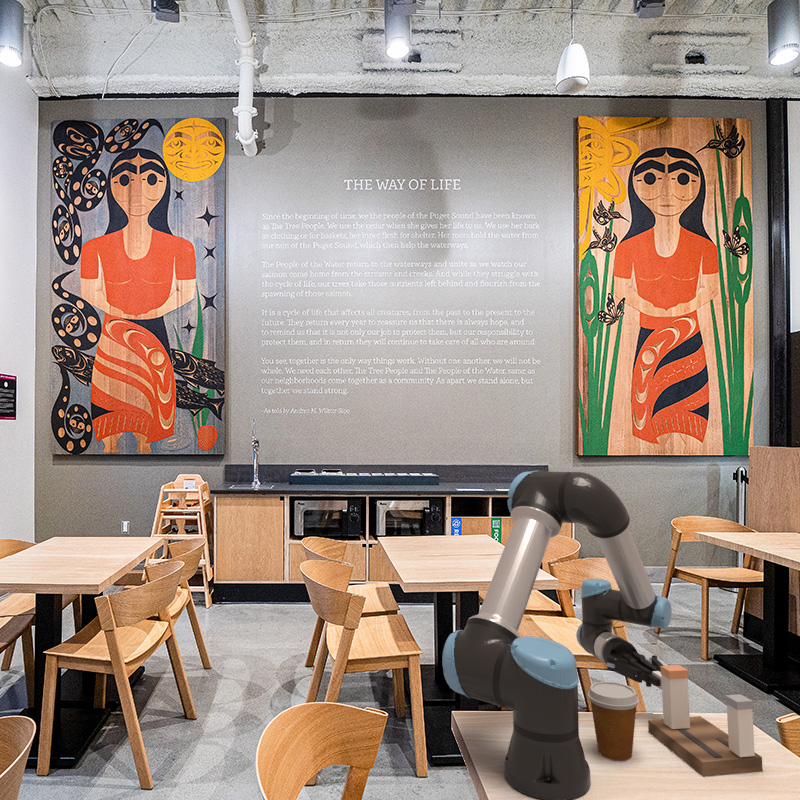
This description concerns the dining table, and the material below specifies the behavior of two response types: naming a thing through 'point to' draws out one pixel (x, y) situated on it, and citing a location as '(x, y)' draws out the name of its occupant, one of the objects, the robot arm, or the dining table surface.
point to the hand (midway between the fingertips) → (672, 688)
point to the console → (704, 748)
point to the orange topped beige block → (675, 696)
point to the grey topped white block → (740, 725)
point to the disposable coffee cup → (614, 718)
